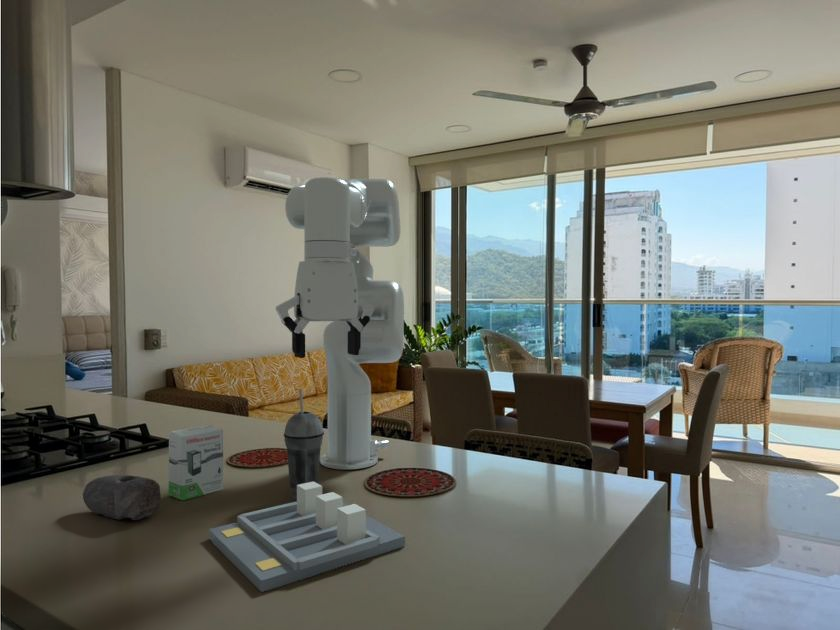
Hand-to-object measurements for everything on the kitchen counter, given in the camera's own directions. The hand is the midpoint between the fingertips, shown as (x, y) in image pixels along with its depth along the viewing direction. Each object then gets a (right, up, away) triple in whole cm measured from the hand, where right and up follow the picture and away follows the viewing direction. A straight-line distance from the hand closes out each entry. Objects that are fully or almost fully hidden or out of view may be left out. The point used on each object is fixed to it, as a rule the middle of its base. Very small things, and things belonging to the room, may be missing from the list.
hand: (327, 355), depth 98 cm
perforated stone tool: (-35, -27, -1) cm, 44 cm away
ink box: (-26, -27, +11) cm, 39 cm away
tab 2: (+2, -25, -9) cm, 27 cm away
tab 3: (+6, -26, -14) cm, 30 cm away
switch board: (-1, -27, -11) cm, 29 cm away
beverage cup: (-6, -27, +9) cm, 29 cm away
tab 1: (-2, -25, -4) cm, 26 cm away
